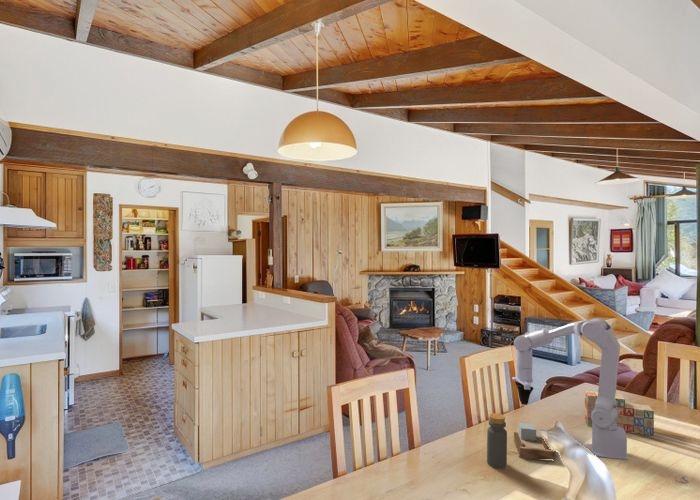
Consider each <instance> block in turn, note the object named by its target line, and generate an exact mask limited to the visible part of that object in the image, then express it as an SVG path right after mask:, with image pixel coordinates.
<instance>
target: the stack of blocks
mask: <svg viewBox="0 0 700 500" xmlns="http://www.w3.org/2000/svg"><path fill="white" fill-rule="evenodd" d="M584 392H585V393H584V420H585V424H586V426H587V427H588V428H589V427H591V428H592V420H591V412H592V411H593V410H594V408H595V403H596V400H597V397H598V391H594V390H585V391H584ZM615 399H616V401H617V405H616V406H617V409H618V411H619V417H618V418H617V419H616V420H615V422H616V424H617V426H618V427H622V428H624V430H625V432H626V433H629V432H634V433H633V434H636V433H640V434H639V435H643V434H650V435H655V434H654V432H655V431H654V430H655V412H654V410H653V408H652V407H651V406H650V405H648V404H639V403H634V402H633V403H631V402H626V399H625V397H624V396H623V395H622V394H621V393H616V395H615ZM650 435H649V436H650Z"/></svg>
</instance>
